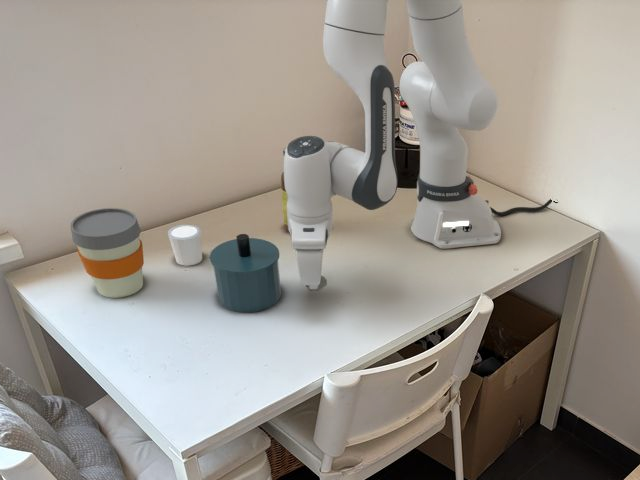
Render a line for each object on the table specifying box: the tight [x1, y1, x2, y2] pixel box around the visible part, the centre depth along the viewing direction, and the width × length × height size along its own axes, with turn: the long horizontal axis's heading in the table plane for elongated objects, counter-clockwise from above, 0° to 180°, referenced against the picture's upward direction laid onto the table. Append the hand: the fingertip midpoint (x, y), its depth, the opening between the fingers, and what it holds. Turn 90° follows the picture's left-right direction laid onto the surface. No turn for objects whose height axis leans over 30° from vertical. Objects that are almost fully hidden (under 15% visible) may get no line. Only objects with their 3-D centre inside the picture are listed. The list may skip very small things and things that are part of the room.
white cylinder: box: [167, 224, 203, 267], centre depth 157 cm, size 7×7×7 cm
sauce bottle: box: [280, 147, 289, 232], centre depth 168 cm, size 6×6×20 cm
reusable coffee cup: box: [69, 207, 145, 299], centre depth 144 cm, size 12×13×15 cm
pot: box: [213, 260, 282, 314], centre depth 146 cm, size 13×13×10 cm
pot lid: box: [209, 233, 280, 274], centre depth 142 cm, size 14×14×5 cm
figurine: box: [304, 274, 328, 292], centre depth 148 cm, size 5×4×6 cm
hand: (314, 280), depth 149 cm, fingers closed on figurine, 4 cm apart
